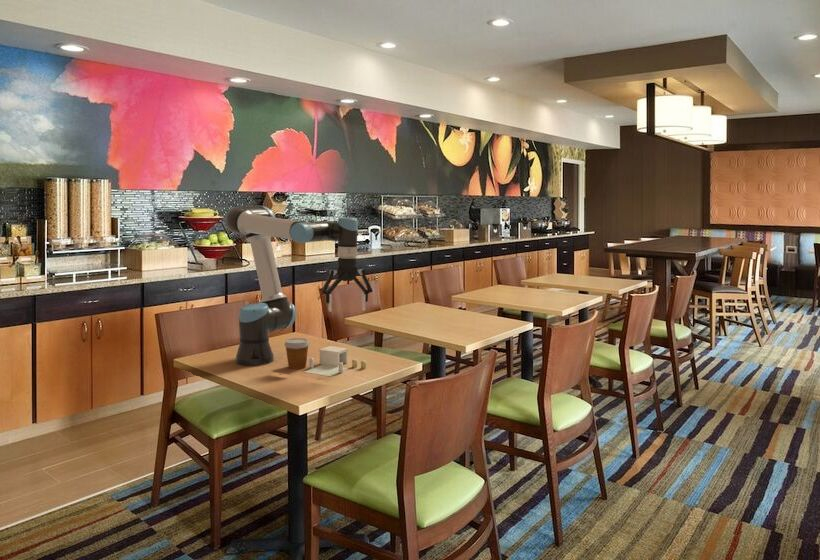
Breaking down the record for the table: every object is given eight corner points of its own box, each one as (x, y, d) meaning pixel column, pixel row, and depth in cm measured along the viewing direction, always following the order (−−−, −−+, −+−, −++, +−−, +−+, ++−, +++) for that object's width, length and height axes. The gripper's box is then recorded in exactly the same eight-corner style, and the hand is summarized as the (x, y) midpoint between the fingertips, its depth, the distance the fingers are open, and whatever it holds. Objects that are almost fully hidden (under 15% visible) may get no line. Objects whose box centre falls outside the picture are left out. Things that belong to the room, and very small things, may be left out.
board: (300, 375, 240) (300, 361, 240) (329, 363, 257) (329, 351, 256) (347, 382, 231) (347, 369, 230) (373, 370, 248) (373, 357, 247)
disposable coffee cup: (304, 374, 241) (304, 344, 239) (281, 373, 243) (280, 342, 241) (313, 368, 250) (312, 338, 249) (290, 366, 252) (290, 337, 251)
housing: (319, 364, 251) (319, 349, 250) (329, 360, 257) (329, 345, 256) (338, 367, 247) (338, 352, 246) (347, 363, 253) (347, 348, 252)
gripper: (317, 258, 239) (317, 313, 242) (380, 258, 247) (379, 311, 250) (314, 256, 246) (313, 309, 249) (375, 255, 254) (374, 307, 257)
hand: (346, 310), depth 250 cm, fingers open, 13 cm apart
